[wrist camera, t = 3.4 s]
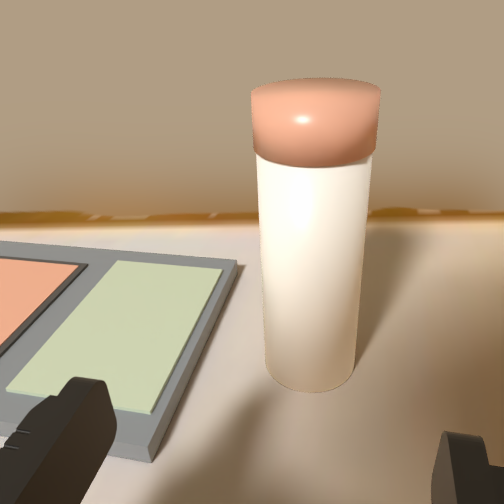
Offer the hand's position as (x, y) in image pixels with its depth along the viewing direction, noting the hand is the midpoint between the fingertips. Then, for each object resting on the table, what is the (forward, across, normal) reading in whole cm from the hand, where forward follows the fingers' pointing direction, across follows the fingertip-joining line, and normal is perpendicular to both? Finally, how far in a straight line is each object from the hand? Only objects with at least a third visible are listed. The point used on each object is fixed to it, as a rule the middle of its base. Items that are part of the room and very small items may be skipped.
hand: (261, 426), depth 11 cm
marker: (+10, 0, +8) cm, 13 cm away
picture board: (+10, +14, +8) cm, 19 cm away
